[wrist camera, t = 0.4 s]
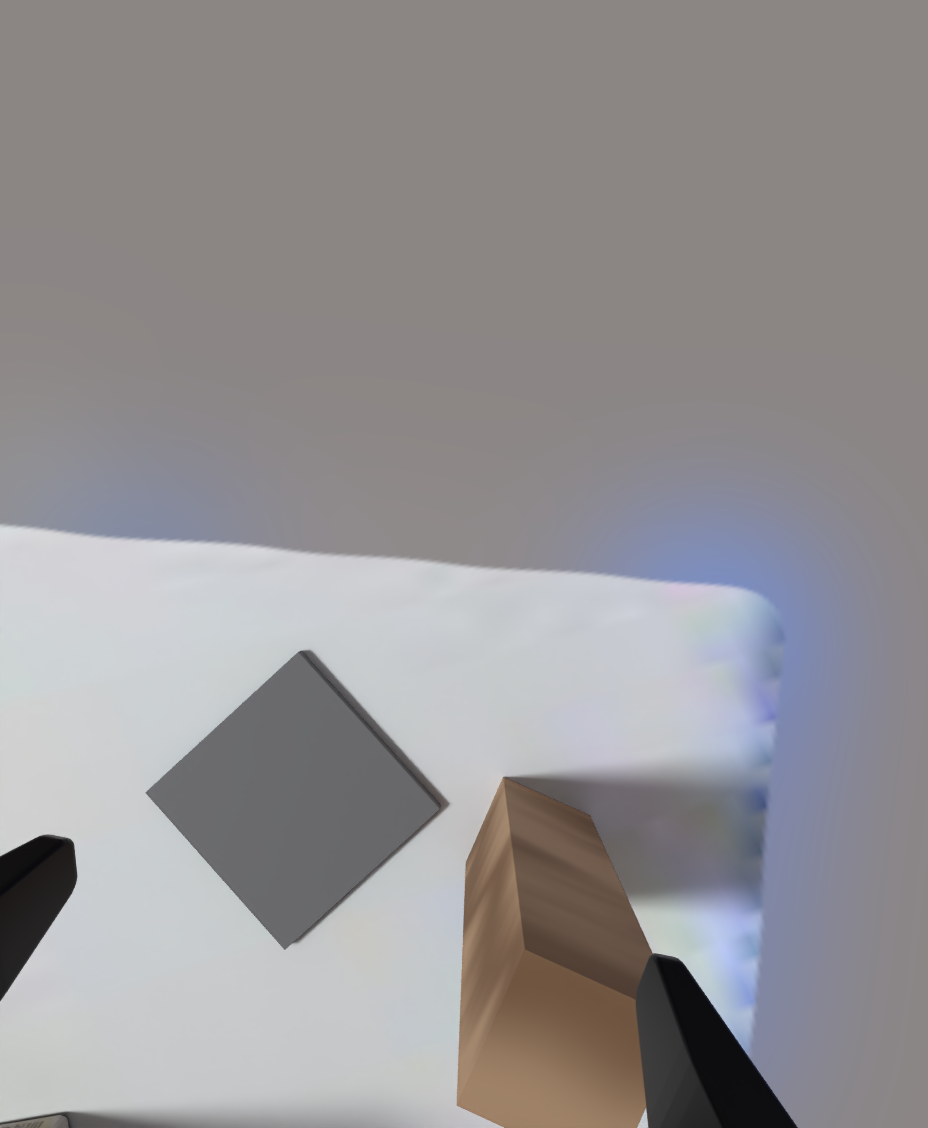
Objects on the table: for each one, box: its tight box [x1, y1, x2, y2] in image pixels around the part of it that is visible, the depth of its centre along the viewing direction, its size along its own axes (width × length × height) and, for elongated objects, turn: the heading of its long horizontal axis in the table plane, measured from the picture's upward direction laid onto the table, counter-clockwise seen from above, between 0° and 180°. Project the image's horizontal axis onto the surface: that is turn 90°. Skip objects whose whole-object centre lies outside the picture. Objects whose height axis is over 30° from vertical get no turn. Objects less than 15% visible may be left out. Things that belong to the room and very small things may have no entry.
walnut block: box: [457, 777, 653, 1128], centre depth 19 cm, size 4×4×11 cm
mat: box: [146, 651, 440, 950], centre depth 24 cm, size 10×10×1 cm
